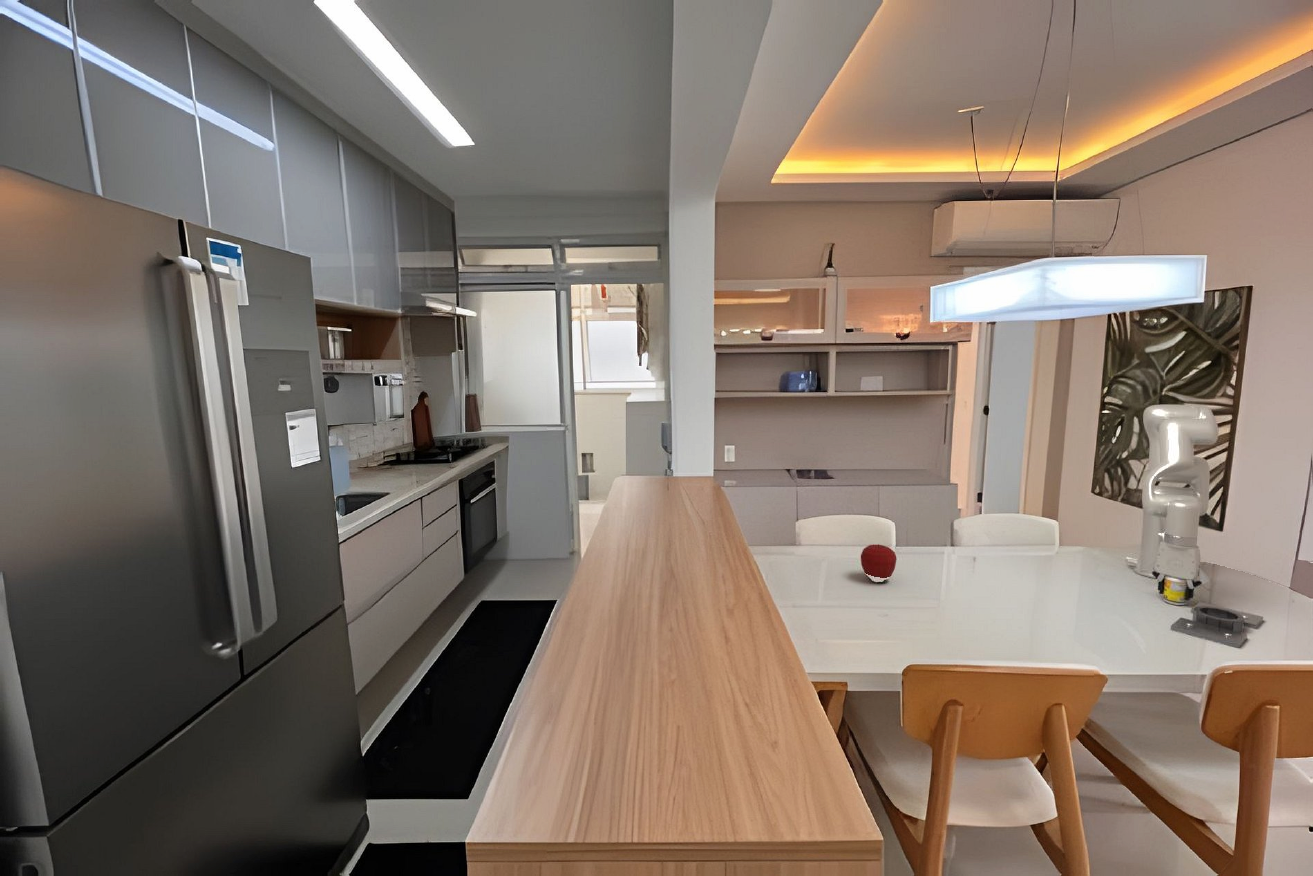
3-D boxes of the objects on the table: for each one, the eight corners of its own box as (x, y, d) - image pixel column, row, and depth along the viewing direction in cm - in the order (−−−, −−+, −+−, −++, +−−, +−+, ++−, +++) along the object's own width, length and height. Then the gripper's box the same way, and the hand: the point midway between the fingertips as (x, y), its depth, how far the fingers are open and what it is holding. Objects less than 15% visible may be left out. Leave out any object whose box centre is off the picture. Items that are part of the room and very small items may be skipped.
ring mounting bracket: (1238, 648, 158) (1239, 635, 157) (1170, 629, 169) (1171, 617, 169) (1262, 620, 174) (1264, 609, 173) (1199, 605, 185) (1200, 594, 185)
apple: (901, 586, 204) (902, 548, 203) (866, 587, 205) (867, 549, 203) (888, 574, 216) (889, 538, 215) (855, 574, 217) (856, 538, 215)
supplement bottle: (1164, 597, 191) (1167, 566, 190) (1187, 601, 187) (1190, 570, 186) (1161, 602, 188) (1164, 570, 186) (1184, 607, 184) (1188, 575, 182)
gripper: (1141, 536, 189) (1136, 591, 192) (1214, 549, 176) (1207, 608, 178) (1149, 531, 194) (1144, 585, 196) (1221, 544, 180) (1214, 602, 182)
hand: (1174, 595), depth 187 cm, fingers closed on supplement bottle, 5 cm apart
